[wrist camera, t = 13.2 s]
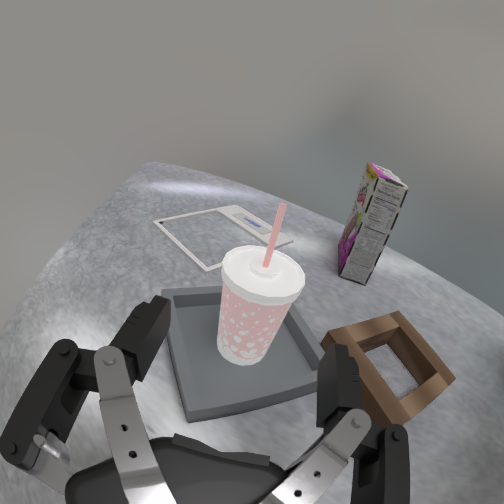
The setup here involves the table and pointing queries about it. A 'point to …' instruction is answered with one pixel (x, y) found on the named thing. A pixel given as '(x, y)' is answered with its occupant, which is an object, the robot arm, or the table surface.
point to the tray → (229, 374)
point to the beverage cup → (256, 297)
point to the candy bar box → (370, 222)
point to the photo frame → (238, 218)
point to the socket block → (409, 352)
